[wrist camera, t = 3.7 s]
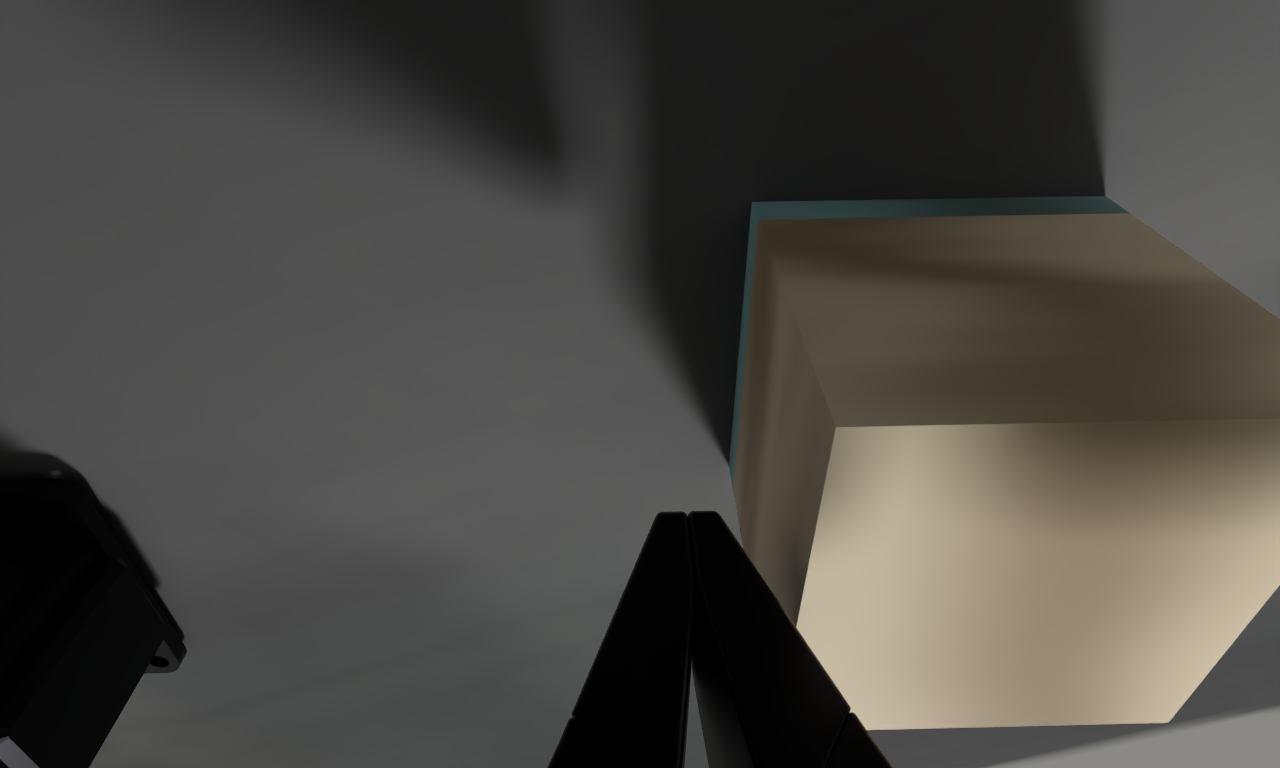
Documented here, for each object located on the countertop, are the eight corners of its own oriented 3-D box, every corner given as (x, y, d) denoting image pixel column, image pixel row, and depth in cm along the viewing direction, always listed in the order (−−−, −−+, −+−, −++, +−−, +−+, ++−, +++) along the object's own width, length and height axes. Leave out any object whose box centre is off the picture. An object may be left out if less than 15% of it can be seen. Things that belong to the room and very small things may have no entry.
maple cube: (728, 462, 16) (775, 732, 11) (751, 200, 12) (835, 428, 7) (1001, 457, 16) (1168, 722, 11) (1102, 194, 12) (1415, 416, 7)
